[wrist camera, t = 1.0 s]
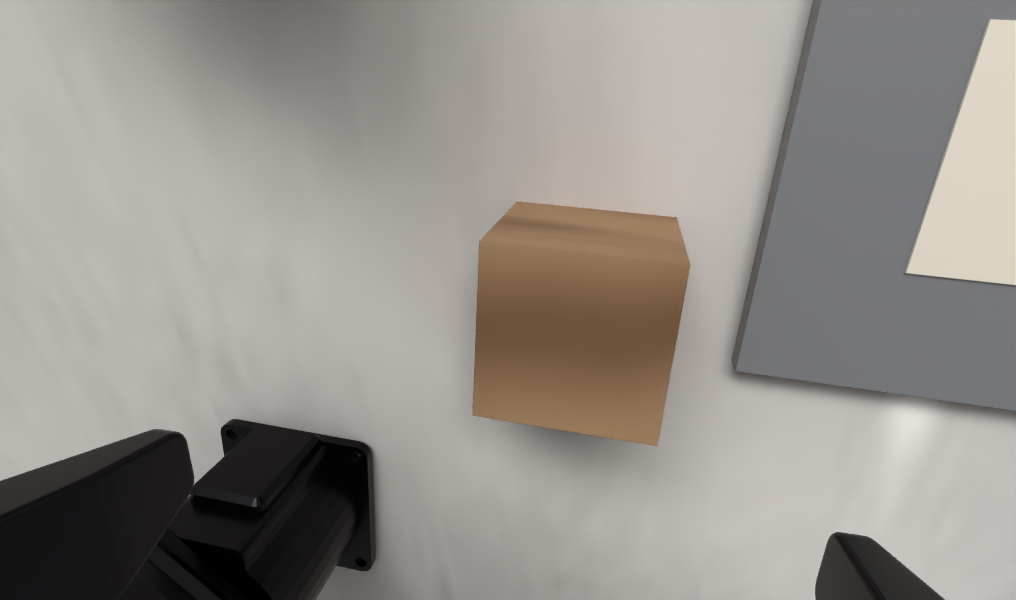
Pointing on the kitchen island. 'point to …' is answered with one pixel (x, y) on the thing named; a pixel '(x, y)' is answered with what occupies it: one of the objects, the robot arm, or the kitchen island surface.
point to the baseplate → (894, 207)
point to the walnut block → (578, 319)
